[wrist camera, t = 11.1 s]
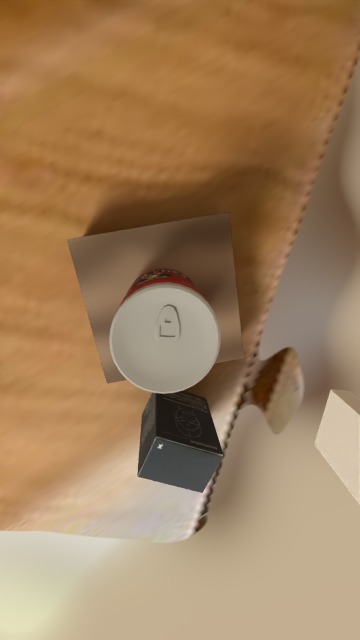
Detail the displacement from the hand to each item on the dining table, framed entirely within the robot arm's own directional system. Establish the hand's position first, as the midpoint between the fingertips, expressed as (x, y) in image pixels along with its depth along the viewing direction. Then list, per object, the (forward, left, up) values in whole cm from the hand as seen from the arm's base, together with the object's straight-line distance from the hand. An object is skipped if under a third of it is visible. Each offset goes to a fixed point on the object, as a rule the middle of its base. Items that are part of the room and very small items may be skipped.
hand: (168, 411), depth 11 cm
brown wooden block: (0, 0, -24) cm, 24 cm away
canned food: (0, 0, -19) cm, 19 cm away
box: (+16, +3, -24) cm, 29 cm away
